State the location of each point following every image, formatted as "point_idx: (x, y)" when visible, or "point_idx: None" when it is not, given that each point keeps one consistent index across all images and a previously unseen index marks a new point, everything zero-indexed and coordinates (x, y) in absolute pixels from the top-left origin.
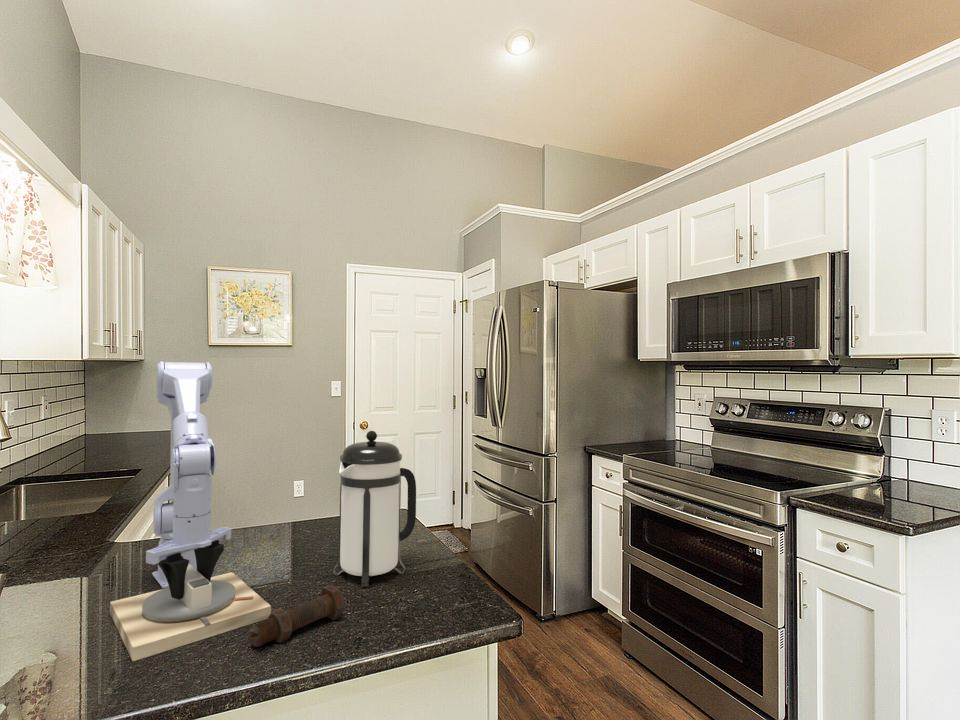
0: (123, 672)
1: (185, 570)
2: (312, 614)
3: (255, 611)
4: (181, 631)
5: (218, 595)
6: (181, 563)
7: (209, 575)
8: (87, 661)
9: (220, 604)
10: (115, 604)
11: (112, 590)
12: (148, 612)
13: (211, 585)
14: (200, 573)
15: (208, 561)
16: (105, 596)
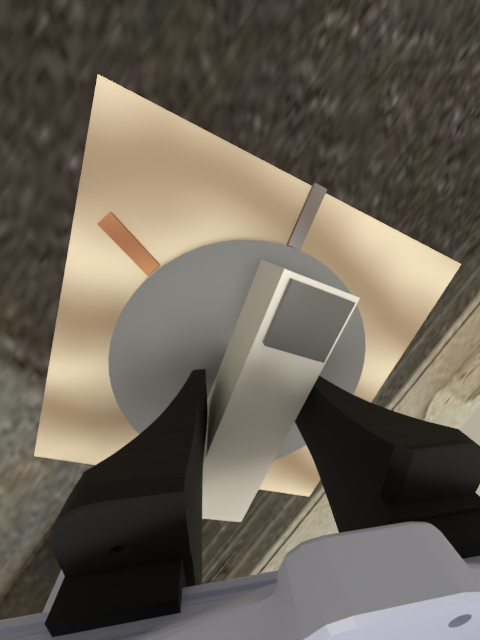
0: (465, 236)
1: (354, 415)
2: None
3: (165, 112)
4: (370, 229)
5: (197, 305)
6: (454, 438)
7: (194, 389)
8: (440, 339)
9: (236, 240)
10: (314, 480)
11: (236, 547)
12: (361, 373)
13: (283, 268)
14: (203, 430)
15: (196, 443)
16: (257, 534)
